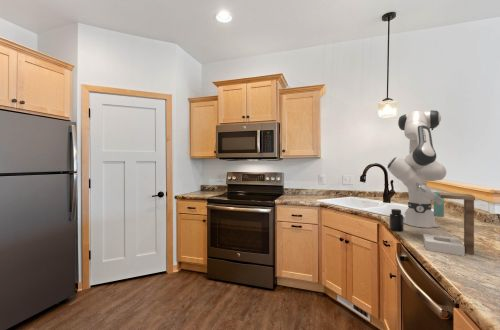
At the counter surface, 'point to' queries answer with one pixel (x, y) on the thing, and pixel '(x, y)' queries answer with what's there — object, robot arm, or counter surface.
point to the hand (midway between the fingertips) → (440, 203)
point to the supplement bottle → (396, 220)
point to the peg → (439, 206)
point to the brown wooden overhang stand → (465, 218)
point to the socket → (443, 244)
